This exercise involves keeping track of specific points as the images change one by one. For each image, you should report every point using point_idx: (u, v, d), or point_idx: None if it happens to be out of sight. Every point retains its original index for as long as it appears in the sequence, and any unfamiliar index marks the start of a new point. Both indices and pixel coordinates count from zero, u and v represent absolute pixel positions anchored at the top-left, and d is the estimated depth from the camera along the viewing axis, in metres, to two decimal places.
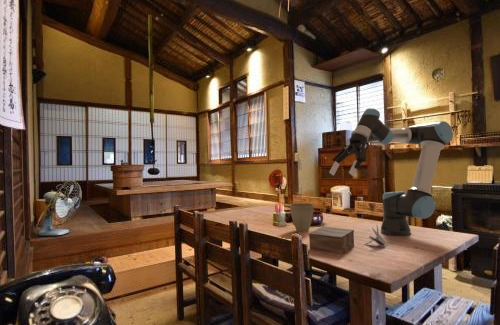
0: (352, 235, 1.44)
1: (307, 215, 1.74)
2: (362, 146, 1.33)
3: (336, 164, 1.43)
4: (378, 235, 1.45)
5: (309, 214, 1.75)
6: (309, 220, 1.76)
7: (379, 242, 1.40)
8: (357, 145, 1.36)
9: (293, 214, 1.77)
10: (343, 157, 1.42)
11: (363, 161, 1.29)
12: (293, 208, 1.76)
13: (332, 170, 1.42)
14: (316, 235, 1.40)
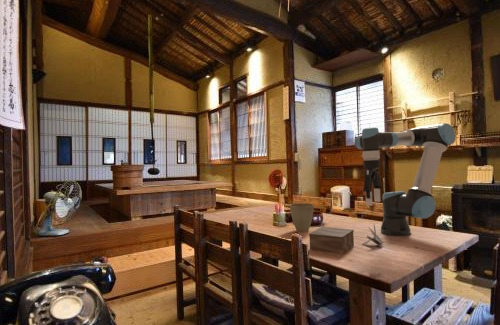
0: (352, 235, 1.44)
1: (307, 215, 1.74)
2: None
3: (376, 191, 1.48)
4: (375, 235, 1.45)
5: (309, 214, 1.75)
6: (309, 220, 1.76)
7: (376, 242, 1.41)
8: None
9: (293, 214, 1.77)
10: (375, 182, 1.46)
11: (367, 190, 1.35)
12: (293, 208, 1.76)
13: (375, 198, 1.48)
14: (316, 235, 1.40)
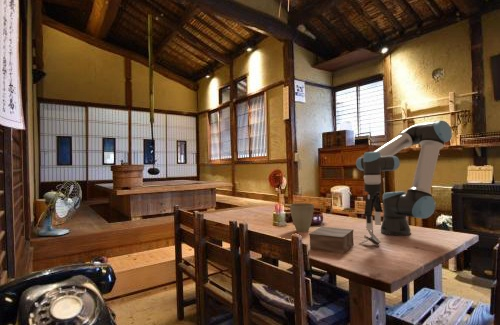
0: (352, 235, 1.44)
1: (307, 215, 1.74)
2: None
3: (376, 214, 1.48)
4: (372, 234, 1.46)
5: (309, 214, 1.75)
6: (309, 220, 1.76)
7: (374, 241, 1.42)
8: None
9: (293, 214, 1.77)
10: (376, 205, 1.46)
11: (368, 215, 1.35)
12: (293, 208, 1.76)
13: (376, 221, 1.48)
14: (317, 235, 1.39)
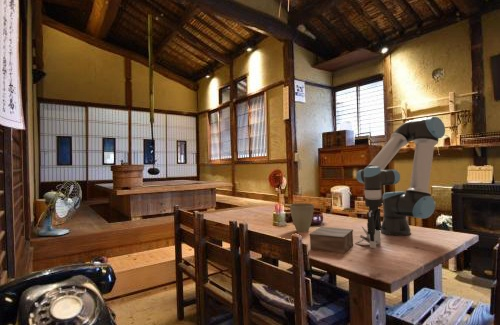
0: (351, 235, 1.45)
1: (307, 215, 1.74)
2: None
3: (376, 232, 1.45)
4: (368, 234, 1.47)
5: (309, 214, 1.75)
6: (309, 220, 1.76)
7: None
8: None
9: (293, 214, 1.77)
10: (376, 222, 1.45)
11: (371, 233, 1.37)
12: (293, 208, 1.76)
13: (375, 240, 1.46)
14: (317, 235, 1.39)
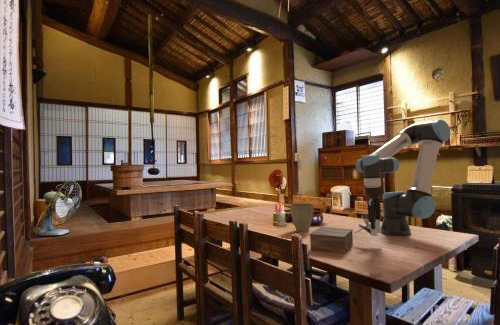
0: (351, 234, 1.45)
1: (307, 215, 1.74)
2: None
3: (376, 222, 1.45)
4: (367, 223, 1.47)
5: (309, 214, 1.75)
6: (309, 220, 1.76)
7: (368, 230, 1.43)
8: None
9: (293, 214, 1.77)
10: (376, 211, 1.44)
11: (372, 221, 1.38)
12: (293, 208, 1.76)
13: None
14: (317, 235, 1.39)
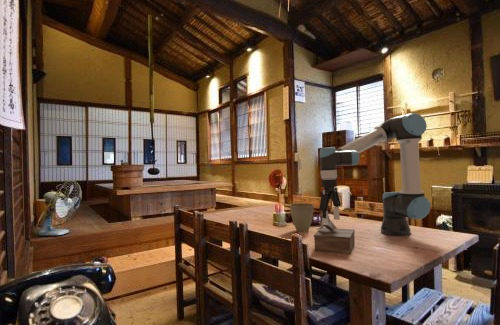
0: (353, 235, 1.45)
1: (307, 215, 1.74)
2: None
3: (335, 209, 1.49)
4: (329, 221, 1.47)
5: (309, 214, 1.75)
6: (309, 220, 1.76)
7: (328, 227, 1.42)
8: None
9: (293, 214, 1.77)
10: (334, 200, 1.47)
11: (323, 210, 1.36)
12: (293, 208, 1.76)
13: (335, 216, 1.49)
14: (322, 236, 1.37)
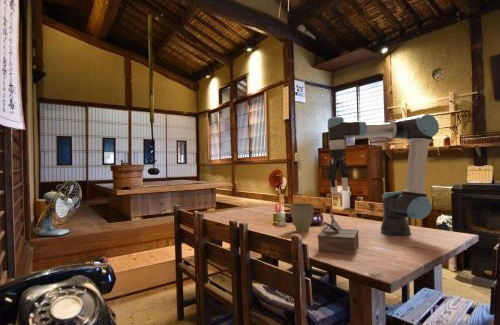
0: (357, 235, 1.43)
1: (307, 215, 1.74)
2: None
3: (343, 180, 1.49)
4: (334, 221, 1.45)
5: (309, 214, 1.75)
6: (309, 220, 1.76)
7: (333, 227, 1.41)
8: None
9: (293, 214, 1.77)
10: (343, 171, 1.47)
11: (332, 179, 1.36)
12: (293, 208, 1.76)
13: (343, 187, 1.49)
14: (326, 237, 1.36)
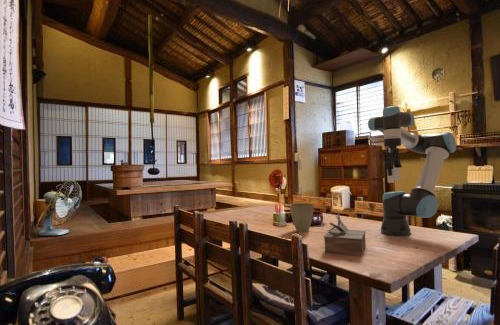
0: (364, 236, 1.41)
1: (307, 215, 1.74)
2: (387, 152, 1.40)
3: (396, 170, 1.49)
4: (340, 222, 1.43)
5: (309, 214, 1.75)
6: (309, 220, 1.76)
7: (340, 229, 1.39)
8: None
9: (293, 214, 1.77)
10: (396, 161, 1.47)
11: (390, 167, 1.36)
12: (293, 208, 1.76)
13: (395, 177, 1.49)
14: (332, 238, 1.34)
